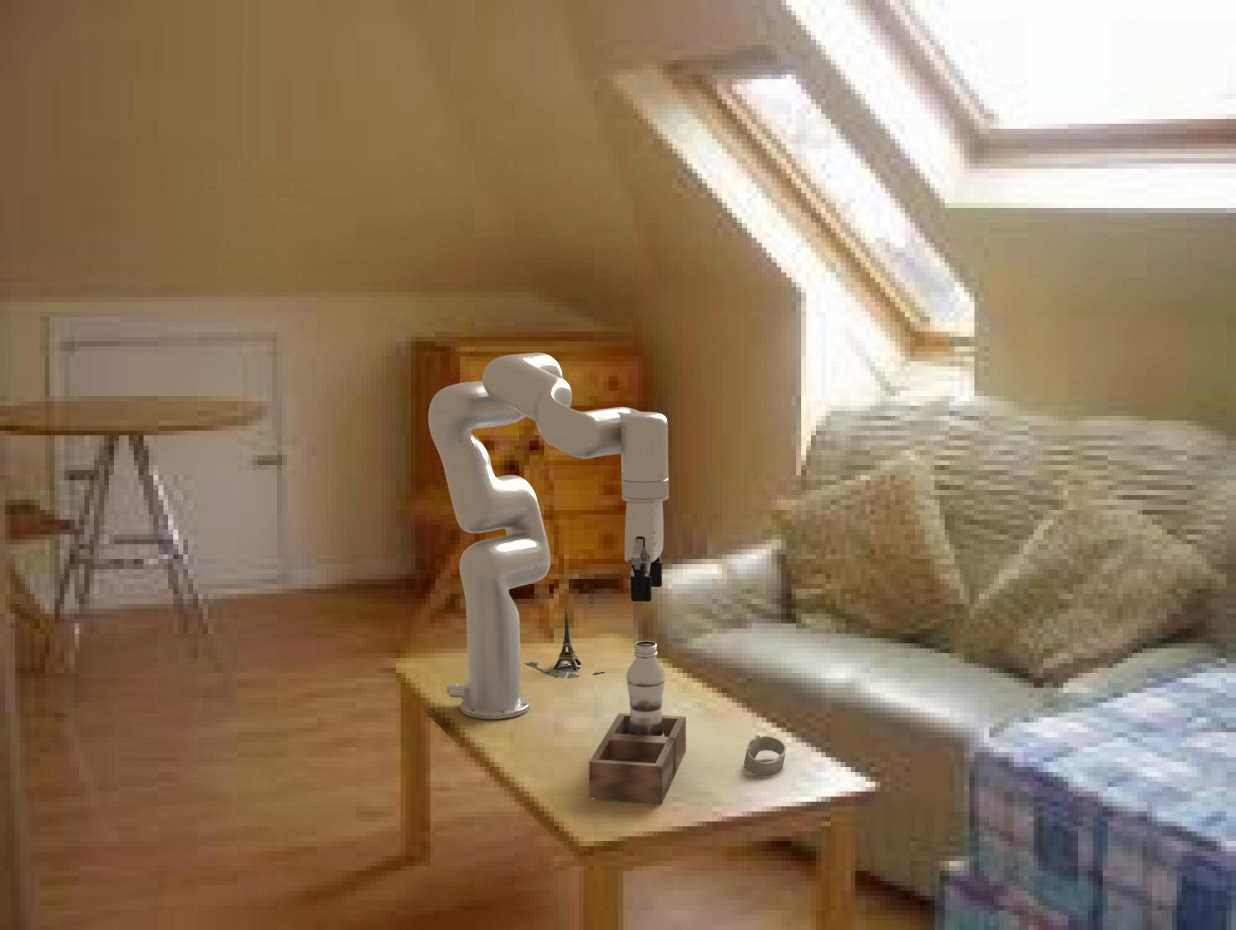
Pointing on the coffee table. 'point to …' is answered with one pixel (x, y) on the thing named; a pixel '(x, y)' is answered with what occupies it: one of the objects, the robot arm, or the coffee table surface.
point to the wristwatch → (761, 745)
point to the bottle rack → (637, 762)
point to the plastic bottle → (646, 691)
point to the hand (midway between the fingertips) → (646, 593)
